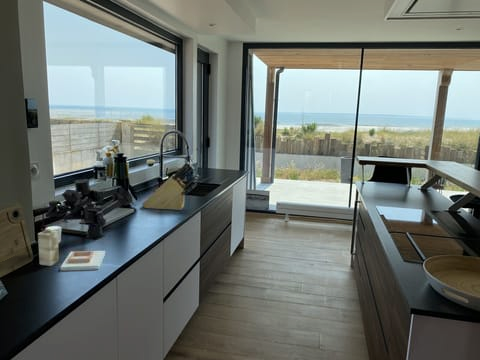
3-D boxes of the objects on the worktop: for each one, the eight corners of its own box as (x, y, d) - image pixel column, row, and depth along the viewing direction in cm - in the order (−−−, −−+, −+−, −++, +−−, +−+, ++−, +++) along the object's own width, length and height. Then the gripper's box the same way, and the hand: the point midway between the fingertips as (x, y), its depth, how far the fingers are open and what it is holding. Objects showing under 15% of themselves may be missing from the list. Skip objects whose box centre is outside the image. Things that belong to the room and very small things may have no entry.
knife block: (195, 211, 235) (196, 164, 230) (141, 208, 236) (141, 161, 230) (198, 207, 246) (199, 161, 241) (146, 204, 247) (146, 159, 241)
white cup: (46, 240, 173) (46, 226, 172) (62, 239, 176) (62, 225, 174) (44, 245, 167) (43, 230, 166) (61, 244, 169) (60, 229, 168)
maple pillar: (48, 259, 152) (46, 227, 149) (59, 261, 151) (57, 228, 148) (39, 264, 147) (37, 231, 144) (50, 265, 146) (49, 232, 143)
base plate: (70, 254, 157) (70, 248, 157) (105, 253, 160) (104, 247, 160) (60, 270, 142) (60, 263, 141) (98, 269, 145) (98, 262, 144)
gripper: (60, 185, 168) (33, 197, 154) (94, 189, 163) (69, 202, 149) (64, 207, 171) (38, 221, 157) (98, 212, 166) (73, 226, 152)
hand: (54, 217), depth 154 cm, fingers open, 9 cm apart
